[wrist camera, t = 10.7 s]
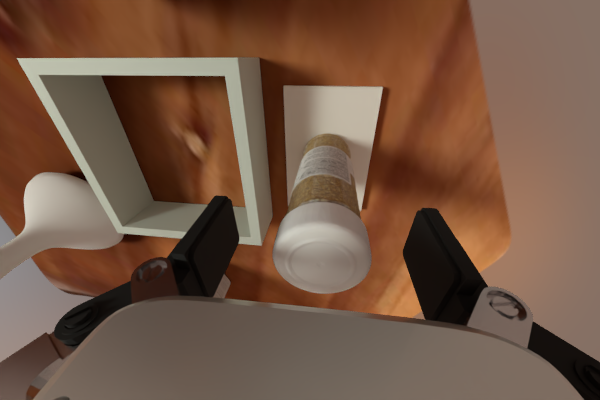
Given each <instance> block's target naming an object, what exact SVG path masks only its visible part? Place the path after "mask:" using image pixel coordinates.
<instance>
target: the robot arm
mask: <svg viewBox="0 0 600 400" xmlns="http://www.w3.org/2000/svg"><path fill="white" fill-rule="evenodd" d="M238 243H239V233H238V228H237V224H236V219H235V215H234V210H233V206H232V201H231V200H230V199H228V197H227V196H215V197H214V198H213V199H212V200H211V202H210V203H209V204H208V206H207V207H206V208H205V209H204V211H203V212H202V213H201V215H200V216H199V217H198V219H197V220H196V221H195V222H194V223H193V225H192V226H191V227H190V229H189V230H188V231H187V233H186V234H185V235H184V236H183V238H182V239H181V240H180V242H179V243H178V244H177V245H176V247H175V248H174V249H173V251H172V252H171V253H170V255H169V256H168V257H167V258H163V257H158V258H153V259H150V260H148V261H146V262H144V263H142V264H141V265H139V266H138V267H137V268H136V269H135V270H134V272H133V274H132V276H131V281H130V282H127V283H125V284H123V285H121V286H119V287H117V288H114V289H112V290H110V291H108V292H106V293H104V294H101V295H99V296H97V297H95V298H93V299H91V300H89V301H87V302H84V303H82V304H80V305H78V306H76V307H75V308H73V309H72V310H70V311H69V312H68V313H67V314H65V315H64V316H63V317H62V318H61V319H60V321H59V322H58V323H57V325H56V327H55V330H54V332H52V333H51V334H47V333H44V334H43V335H41V336H40V337H38V338H37V339H35V340H34V341H32V342H31V343H29V344H27V345H26V346H24V347H23V348H21V349H20V350H18V351H17V352H15V353H14V354H12V355H11V356H9V357H8V358H6V359H5V360H3V361H2V362H0V400H600V362H599V361H597V360H595V359H594V358H592V357H590V356H589V355H587V354H585V353H584V352H582V351H580V350H579V349H577V348H576V347H574V346H572V345H571V344H569V343H567V342H566V341H564V340H562V339H561V338H559V337H558V336H555V335H554V334H553V333H551V332H549V331H548V330H546V329H544V328H543V327H541V326H539V325H538V324H536V323H535V322H533V314H532V312H531V311H530V309H529V307H528V306H527V305H526V304H525V303H524V302H523V301H522V300H521V299H520V298H519V297H517V296H516V295H514V294H513V293H511V292H509V291H507V290H504V289H502V288H498V287H488V286H487V284H486V283H485V281H484V280H483V278H482V277H481V275H480V273H479V272H478V270H477V269H476V267H475V266H474V264H473V263H472V261H471V260H470V258H469V257H468V255H467V254H466V252H465V251H464V249H463V247H462V246H461V244H460V243H459V241H458V240H457V239H456V237H455V236H454V234H453V233H452V231H451V230H450V228H449V227H448V225H447V224H446V222H445V221H444V219H443V217H442V216H441V214H440V213H439V211H438V210H437V209H435V208H422V209H421V211H417V213H416V216H415V219H414V221H413V224H412V227H411V229H410V232H409V235H408V238H407V240H406V243H405V246H404V249H403V257H404V260H405V262H406V265H407V268H408V271H409V274H410V277H411V280H412V283H413V286H414V288H415V291H416V294H417V297H418V300H419V303H420V306H421V309H422V312H423V314H424V317H425V319H426V320H423V319H415V318H407V317H399V316H389V315H380V314H371V313H362V312H353V311H344V310H334V309H325V308H315V307H306V306H296V305H286V304H276V303H266V302H256V301H246V300H236V299H225V298H213V296H214V295H215V292H216V290H217V288H218V286H219V284H220V282H221V280H222V277H223V275H224V273H225V271H226V269H227V267H228V265H229V262H230V260H231V258H232V256H233V254H234V252H235V250H236V248H237V245H238Z"/></svg>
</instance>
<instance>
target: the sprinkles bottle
mask: <svg viewBox="0 0 600 400" xmlns="http://www.w3.org/2000/svg"><path fill="white" fill-rule="evenodd" d="M350 158H351V153H350V149H349V147H348V145H347V144H346V142H345V141H344V140H343V139H342V138H340V137H339V136H337V135H333V134H320V135H317V136H315V137H313V138H312V139H311V140H310V141H309V142H308V143H307V144H306V146H305V148H304V152H303V159H302V161H301V163H300V166H299V170H298V173H297V176H296V180H295V183H294V186H293V190H292V193H291V197H290V204H289V207H288V211H287V214H286V215H285V217H284V218H283V220H282V221H281V223H280V226H279V229H278V232H277V235H276V239H275V243H274V247H273V261H274V265H275V267H276V269H277V271H278V272H279V274H280V275H281V276H282V277H283V278H284V279H285V280H286V281H288V282H289V283H290V284H292V285H294V286H296V287H298V288H300V289H302V290H305V291H309V292H313V293H321V294H328V293H337V292H342V291H345V290H348V289H350V288H352V287H354V286H356V285H357V284H358V283H360V282H361V281H362V280H363V279H364V278H365V276H366V275H367V273H368V271H369V269H370V266H371V250H370V244H369V239H368V234H367V230H366V227H365V225H364V224H363V222H362V220H361V217H360V210H359V205H358V200H357V192H356V183H355V177H354V171H353V166H352V162H351V160H350Z"/></svg>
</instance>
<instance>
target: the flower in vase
mask: <svg viewBox="0 0 600 400" xmlns="http://www.w3.org/2000/svg"><path fill="white" fill-rule="evenodd" d="M24 209H25V217H26V225H25V228H24V230H23V231H22V233H21V234H20V235H18V236H17V237H16V238H15V239H13V240H12V241H10V242H8V243H7V244H5V245H3V246H2V247H0V279H1V278H2V277H3V276H5V275H6V274H7V273H9V272H10V271H11V270H12V269H14V268H15V267H17V266H18V265H19V264H21V263H22V262H24V261H25V260H27V259H28V258H30V257H32V256H33V255H35V254H37V253H39V252H41V251H43V250H45V249H49V248H56V247H63V248H75V249H105V248H108V247H111V246H113V245H116V244H118V243H119V242H120V241H121V240H122V239H123V236H124V234H123V233H118V232H117V231H116V229H115V227H114V225H113V224H112V222H111V220H110V219H109V217H108V215H107V213H106V212H105V210H104V208H103V206H102V205H101V203H100V201H99V200H98V198H97V196H96V194H95V193H94V191H93V189H92V187H91V186H90V184H89V183H88V182H86V181H84V180H82V179H80V178H78V177H75V176H72V175H69V174H64V173H53V172H45V173H41V174H38V175H36V176H35V177H34V178H33V179H32V180H31V181H30V182H29V183H28V184H27V186H26V189H25V195H24Z"/></svg>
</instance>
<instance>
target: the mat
mask: <svg viewBox="0 0 600 400" xmlns="http://www.w3.org/2000/svg"><path fill="white" fill-rule="evenodd" d="M382 90H383V87H382V86H296V85H284V86H283V92H284V118H285V144H286V170H287V196H288V206H289V204H290V197H291V193H292V190H293V186H294V183H295V180H296V176H297V173H298V170H299V166H300V163H301V161H302V159H303V152H304V148H305V146H306V144H307V143H308V142H309V141H310V140H311V139H312V138H313V137H315V136H317V135H320V134H333V135H337V136H339V137H340V138H342V139H343V140H344V141H345V142H346V144H347V145H348V147H349V149H350V153H351V158H350V160H351V162H352V166H353V171H354V177H355V183H356V192H357V200H358V205H359V210H360V211H361V209H362V203H363V197H364V192H365V186H366V180H367V175H368V169H369V163H370V158H371V152H372V147H373V141H374V135H375V130H376V124H377V118H378V113H379V107H380V101H381V96H382Z"/></svg>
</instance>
